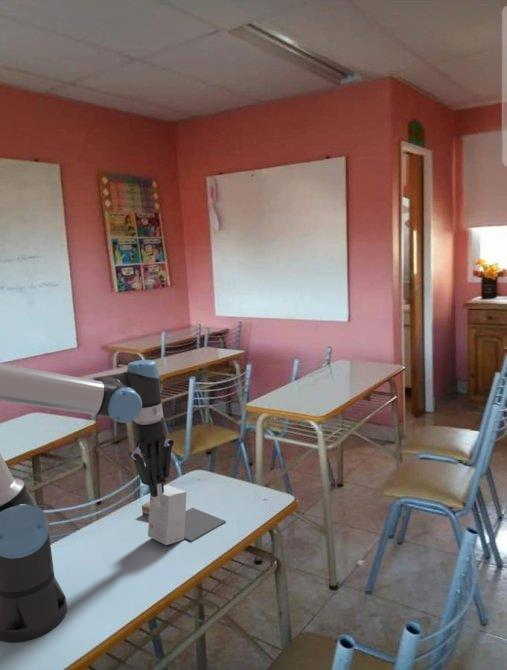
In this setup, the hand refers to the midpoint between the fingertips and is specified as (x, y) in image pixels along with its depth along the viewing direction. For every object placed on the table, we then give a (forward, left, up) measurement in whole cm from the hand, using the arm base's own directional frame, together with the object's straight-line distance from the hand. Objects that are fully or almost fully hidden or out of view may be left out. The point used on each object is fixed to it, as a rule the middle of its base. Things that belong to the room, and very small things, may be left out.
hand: (158, 506), depth 145 cm
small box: (+2, +1, -10) cm, 10 cm away
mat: (+12, +1, -10) cm, 16 cm away
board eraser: (+13, +16, -11) cm, 23 cm away
